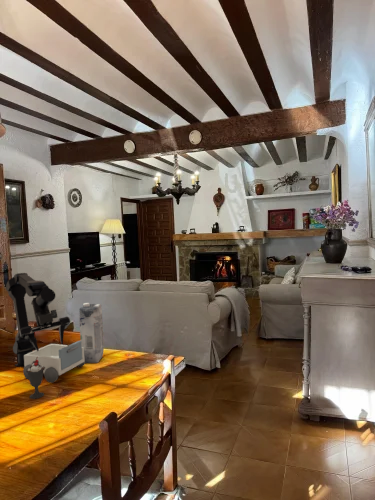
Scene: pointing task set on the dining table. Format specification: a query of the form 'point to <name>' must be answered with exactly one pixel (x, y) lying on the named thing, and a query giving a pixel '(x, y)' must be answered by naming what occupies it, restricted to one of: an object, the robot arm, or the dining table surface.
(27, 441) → the dining table surface
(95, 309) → the juice carton
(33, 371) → the sundae
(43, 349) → the cart
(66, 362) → the panel
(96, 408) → the dining table surface
